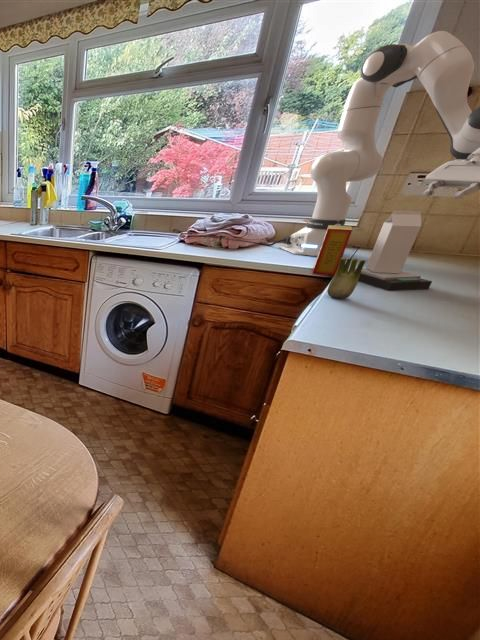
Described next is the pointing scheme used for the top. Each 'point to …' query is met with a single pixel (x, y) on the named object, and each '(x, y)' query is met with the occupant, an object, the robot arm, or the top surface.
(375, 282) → the scale
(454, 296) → the top surface
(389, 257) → the milk carton
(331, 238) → the baking soda box
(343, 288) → the fennel bulb
